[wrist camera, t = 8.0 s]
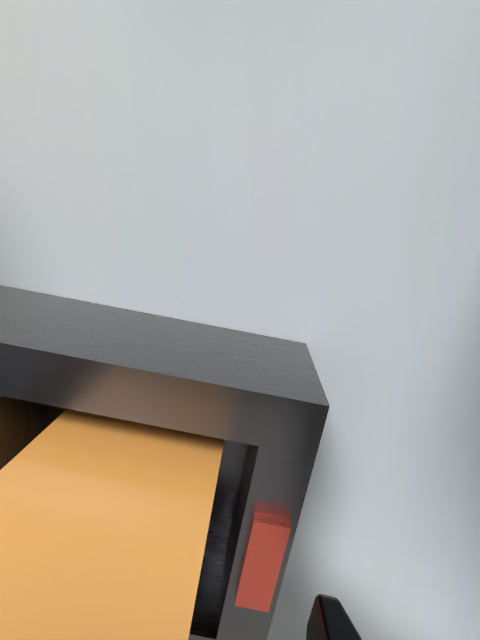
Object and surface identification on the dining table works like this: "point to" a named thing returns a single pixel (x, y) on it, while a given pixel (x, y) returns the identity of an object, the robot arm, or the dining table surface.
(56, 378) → the strip
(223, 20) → the dining table surface
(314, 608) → the robot arm
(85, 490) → the plug
